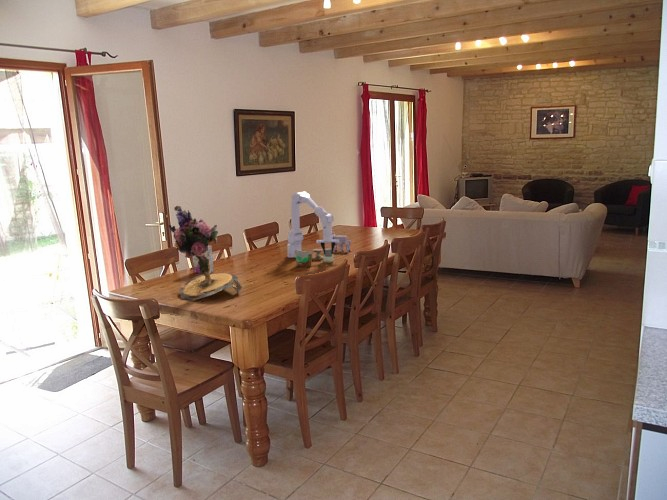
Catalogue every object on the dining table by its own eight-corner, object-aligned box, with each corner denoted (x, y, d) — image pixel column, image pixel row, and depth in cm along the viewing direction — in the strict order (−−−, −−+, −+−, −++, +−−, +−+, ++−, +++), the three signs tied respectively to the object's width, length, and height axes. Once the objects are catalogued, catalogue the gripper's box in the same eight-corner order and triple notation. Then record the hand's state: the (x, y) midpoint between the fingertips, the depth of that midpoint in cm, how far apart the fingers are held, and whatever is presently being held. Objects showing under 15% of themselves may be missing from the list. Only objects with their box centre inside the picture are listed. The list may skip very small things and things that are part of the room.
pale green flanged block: (323, 262, 338) (323, 257, 338) (324, 259, 346) (323, 254, 345) (333, 262, 338) (333, 256, 337) (333, 259, 346) (333, 254, 345)
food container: (291, 266, 330) (290, 251, 328) (296, 264, 335) (295, 249, 333) (308, 268, 324) (307, 252, 322) (313, 266, 330) (312, 250, 327)
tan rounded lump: (311, 260, 346) (311, 251, 345) (312, 257, 354) (312, 248, 353) (324, 259, 346) (323, 250, 345) (324, 257, 354) (324, 248, 353)
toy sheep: (320, 252, 370) (320, 232, 368) (325, 249, 380) (325, 230, 378) (348, 253, 364) (347, 233, 362) (352, 250, 374) (352, 231, 372)
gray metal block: (325, 257, 340) (324, 249, 339) (325, 256, 344) (325, 248, 343) (331, 257, 340) (331, 249, 339) (331, 255, 344) (331, 248, 343)
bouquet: (142, 293, 269) (158, 205, 273) (216, 301, 301) (229, 223, 305) (175, 300, 246) (192, 204, 250) (252, 309, 277) (266, 224, 281)
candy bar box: (193, 273, 322) (190, 246, 319) (197, 271, 327) (195, 245, 324) (210, 273, 319) (207, 247, 316) (214, 271, 324) (211, 245, 321)
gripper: (315, 234, 335) (316, 256, 337) (339, 234, 334) (339, 255, 337) (316, 232, 342) (317, 253, 344) (339, 232, 341) (339, 252, 344)
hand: (328, 254), depth 341 cm, fingers closed on gray metal block, 4 cm apart
